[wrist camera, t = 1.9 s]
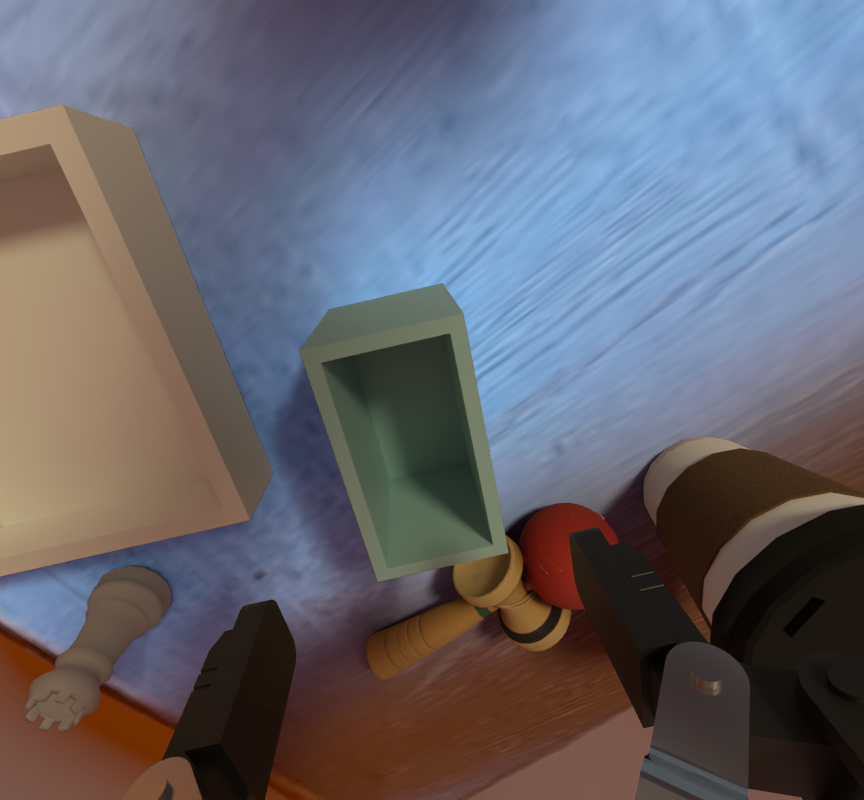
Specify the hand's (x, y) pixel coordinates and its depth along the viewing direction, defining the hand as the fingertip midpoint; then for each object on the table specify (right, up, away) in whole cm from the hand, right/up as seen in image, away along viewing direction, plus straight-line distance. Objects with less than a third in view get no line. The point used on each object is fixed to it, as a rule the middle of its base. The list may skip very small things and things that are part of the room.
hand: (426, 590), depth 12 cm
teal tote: (-1, +6, +13) cm, 15 cm away
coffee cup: (+17, 0, +17) cm, 24 cm away
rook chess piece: (-19, -7, +17) cm, 26 cm away
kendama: (+3, -7, +19) cm, 21 cm away
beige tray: (-19, +7, +11) cm, 23 cm away
